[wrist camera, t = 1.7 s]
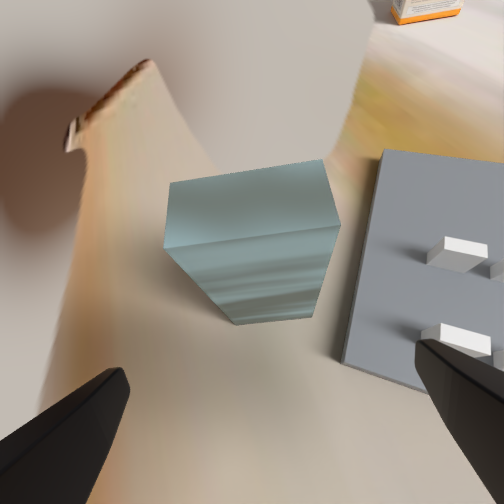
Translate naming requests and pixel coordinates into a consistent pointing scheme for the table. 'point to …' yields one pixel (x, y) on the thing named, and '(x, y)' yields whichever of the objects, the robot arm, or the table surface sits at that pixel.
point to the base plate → (429, 265)
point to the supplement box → (424, 9)
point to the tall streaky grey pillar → (255, 239)
